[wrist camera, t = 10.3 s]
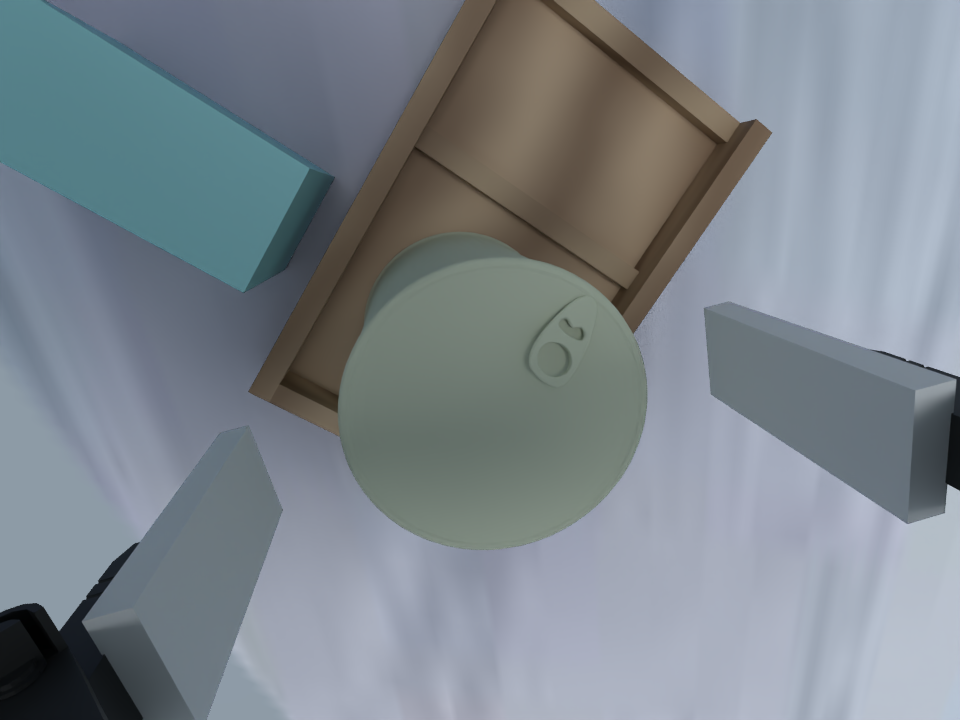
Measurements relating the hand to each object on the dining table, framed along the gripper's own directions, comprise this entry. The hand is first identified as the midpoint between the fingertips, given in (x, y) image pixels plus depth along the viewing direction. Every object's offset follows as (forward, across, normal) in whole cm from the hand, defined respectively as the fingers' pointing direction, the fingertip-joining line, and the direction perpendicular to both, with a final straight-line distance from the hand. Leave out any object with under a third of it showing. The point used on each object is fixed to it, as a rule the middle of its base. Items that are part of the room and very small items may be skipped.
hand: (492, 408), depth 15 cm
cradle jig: (+13, +3, +2) cm, 13 cm away
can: (+12, 0, -1) cm, 12 cm away
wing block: (+13, -9, +9) cm, 19 cm away
